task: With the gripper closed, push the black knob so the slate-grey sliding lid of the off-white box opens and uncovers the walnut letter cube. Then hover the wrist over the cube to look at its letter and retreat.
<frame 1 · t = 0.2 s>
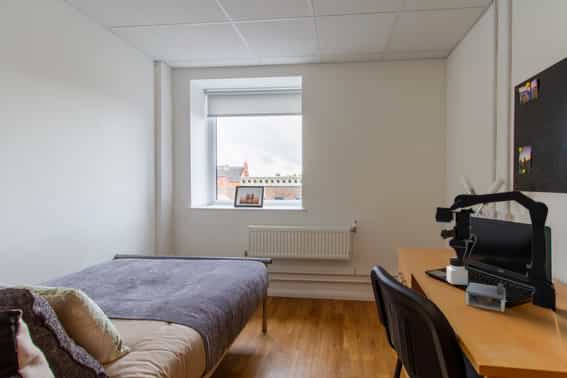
hand: (463, 260, 136), 14 cm above the table, fingers open, 9 cm apart
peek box: (485, 304, 124), on the table
medicine bottle: (457, 284, 149), on the table
slate lid: (485, 287, 123), point 7 cm above the table, slide at 0.0 cm
letter cube: (485, 303, 123), point 1 cm above the table, touching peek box
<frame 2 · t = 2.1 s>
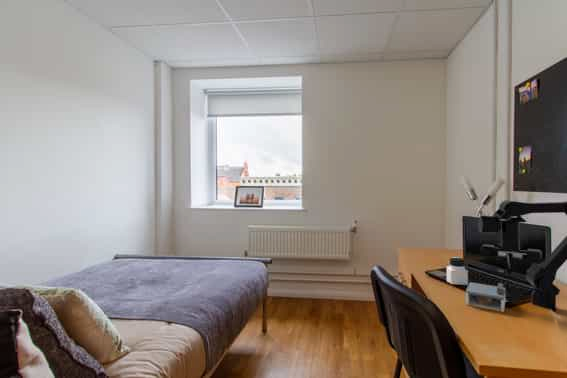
hand: (510, 273, 123), 12 cm above the table, fingers closed
nothing on the table moved.
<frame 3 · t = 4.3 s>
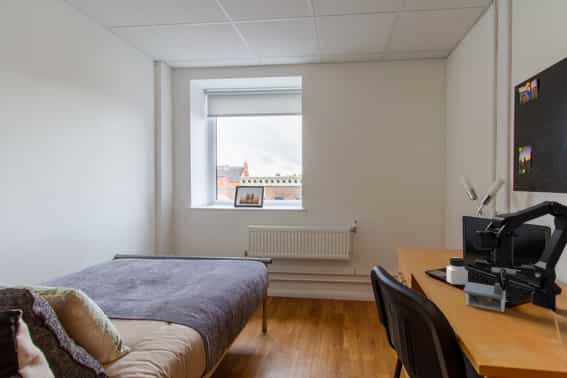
hand: (503, 290, 120), 7 cm above the table, fingers closed
slate lid: (483, 287, 124), point 7 cm above the table, slide at 0.9 cm, touching gripper
everything else where it was.
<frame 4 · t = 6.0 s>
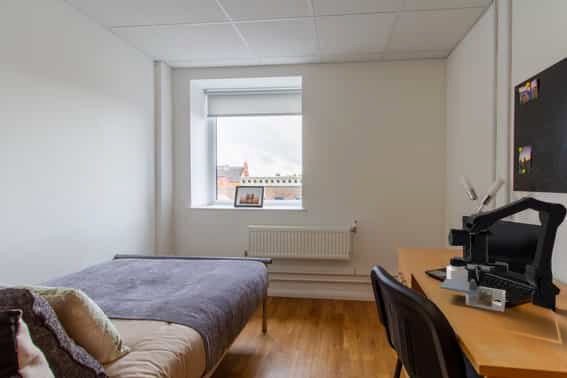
hand: (478, 286, 125), 7 cm above the table, fingers closed
slate lid: (459, 283, 129), point 7 cm above the table, slide at 8.9 cm, touching gripper
everything else where it was.
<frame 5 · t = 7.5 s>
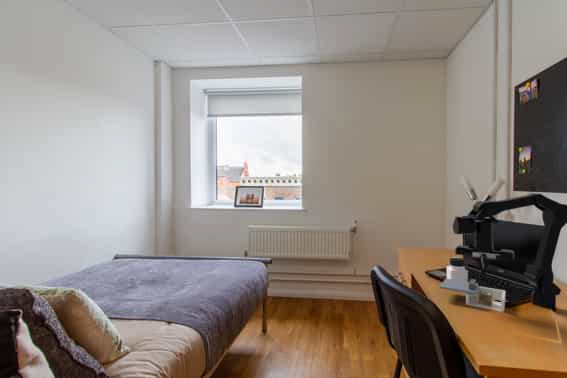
hand: (483, 274, 123), 12 cm above the table, fingers closed
slate lid: (459, 283, 129), point 7 cm above the table, slide at 9.1 cm
everything else where it was.
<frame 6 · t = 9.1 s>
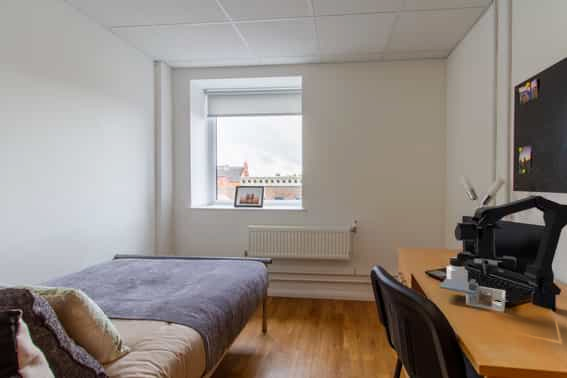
hand: (485, 281, 123), 10 cm above the table, fingers closed
nothing on the table moved.
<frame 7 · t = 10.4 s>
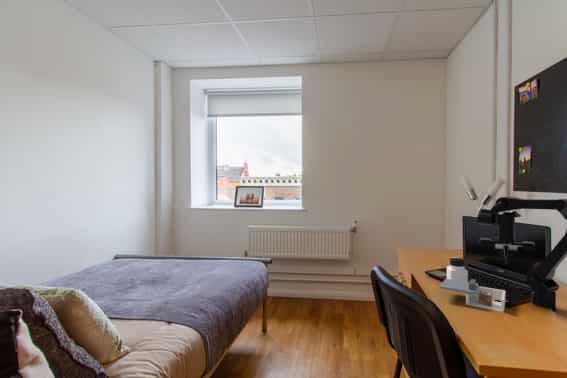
hand: (506, 264, 132), 13 cm above the table, fingers closed
nothing on the table moved.
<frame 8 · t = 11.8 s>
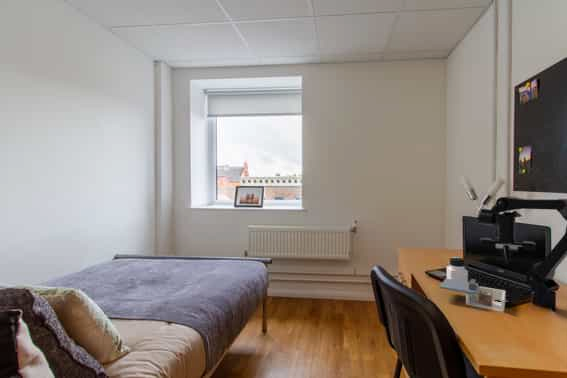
hand: (506, 264, 132), 13 cm above the table, fingers closed
nothing on the table moved.
at the end: slate lid slide at 9.1 cm; letter cube moved 0.0 cm from its start; medicine bottle moved 0.2 cm from its start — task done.
